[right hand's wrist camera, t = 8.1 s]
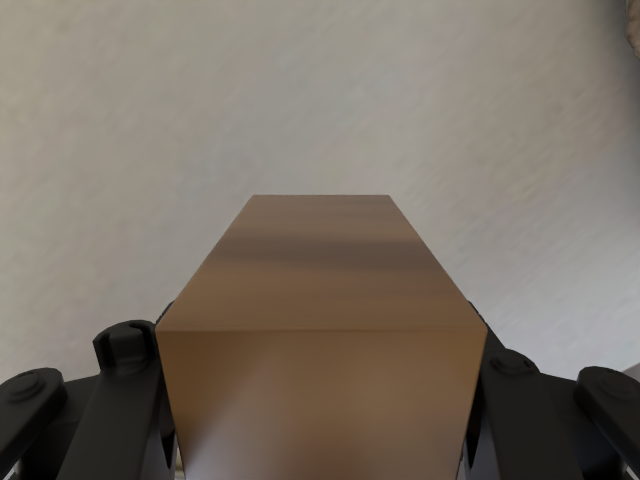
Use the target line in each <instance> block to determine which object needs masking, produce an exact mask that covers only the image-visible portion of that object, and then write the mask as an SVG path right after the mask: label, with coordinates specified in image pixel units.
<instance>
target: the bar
mask: <svg viewBox="0 0 640 480" xmlns="http://www.w3.org/2000/svg"><path fill="white" fill-rule="evenodd" d="M155 333H156V338H157V343H158V348H159V353H160V358H161V363H162V367H163V372H164V377H165V382H166V387H167V392H168V397H169V402H170V407H171V412H172V416H173V421H174V426H175V431H176V436H177V441H178V446H179V451H180V456H181V461H182V466H183V470H184V475H185V480H457V476H458V471H459V466H460V461H461V457H462V452H463V447H464V442H465V438H466V433H467V428H468V423H469V419H470V414H471V409H472V404H473V399H474V395H475V390H476V385H477V380H478V376H479V371H480V366H481V361H482V356H483V352H484V347H485V342H486V337H487V333H488V329H487V326H486V325H485V324H484V322H483V321H482V320H481V318H480V317H479V316H478V314H477V313H476V311H475V310H474V309H473V307H472V306H471V305H470V303H469V302H468V301H467V299H466V298H465V297H464V295H463V294H462V293H461V291H460V290H459V289H458V287H457V286H456V285H455V283H454V282H453V281H452V279H451V278H450V277H449V275H448V274H447V273H446V271H445V270H444V269H443V267H442V266H441V265H440V263H439V262H438V260H437V259H436V258H435V256H434V255H433V254H432V252H431V251H430V250H429V248H428V247H427V246H426V244H425V243H424V242H423V240H422V239H421V238H420V236H419V235H418V234H417V232H416V231H415V230H414V228H413V227H412V226H411V224H410V223H409V222H408V220H407V219H406V218H405V216H404V215H403V213H402V212H401V211H400V209H399V208H398V207H397V205H396V204H395V203H394V201H393V200H392V199H391V197H390V196H389V195H252V197H251V198H250V199H249V201H248V202H247V203H246V205H245V206H244V208H243V209H242V210H241V212H240V213H239V214H238V216H237V217H236V218H235V220H234V221H233V222H232V224H231V225H230V227H229V228H228V229H227V231H226V232H225V233H224V235H223V236H222V237H221V239H220V240H219V241H218V243H217V244H216V246H215V247H214V248H213V250H212V251H211V252H210V254H209V255H208V256H207V258H206V259H205V260H204V262H203V263H202V265H201V266H200V267H199V269H198V270H197V271H196V273H195V274H194V275H193V277H192V278H191V279H190V281H189V282H188V283H187V285H186V286H185V288H184V289H183V290H182V292H181V293H180V294H179V296H178V297H177V298H176V300H175V301H174V302H173V304H172V305H171V307H170V308H169V309H168V311H167V312H166V313H165V315H164V316H163V317H162V319H161V320H160V321H159V323H158V324H157V326H156V328H155Z"/></svg>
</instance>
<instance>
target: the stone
mask: <svg viewBox="0 0 640 480" xmlns="http://www.w3.org/2000/svg"><path fill="white" fill-rule="evenodd" d="M626 6H627V7H626V16H627V21H628V22H627V26H626V30H625V34H624V35H625V37H626V38H627V40H628V41H629V43H630V45H631V46H632V48H633V49H634V55H635V56H637V57H638V58H639V59H640V0H626Z"/></svg>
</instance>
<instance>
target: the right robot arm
mask: <svg viewBox="0 0 640 480" xmlns="http://www.w3.org/2000/svg"><path fill="white" fill-rule="evenodd" d="M174 301H175V300H174ZM174 301H173V302H174ZM467 301H468V300H467ZM173 302H171V303H170V304H169V305H168V306H167V308H166V309H165V310H164V312H163V313H162V315H161V316H160V317H159V318H158V320H157V321H156V324H153V323H152V322H150V321H145V320H130V321H126V322H121V323H118V324H116V325H113V326H111V327H109V328H107V329H105V330H104V331H102V332H101V333H99V334H98V335H97V336H96V338H95V339H94V340H93V341H92V342H93V345H94V349H95V352H96V356H97V359H98V363H99V366H100V370H101V372H100V374H98V375H95V376H91V377H87V378H82V379H77V380H73V381H68V382H64V380H63V377H62V374H61V372H59V371H58V370H57V369H54V368H39V369H33V370H30V371H27V372H23V373H21V374H18V375H17V376H15V377H13V378H11V379H9V380H7V381H5V382H4V383H2V384H1V385H0V480H3V479H4V478H5V476H6V475H7V474H8V473H9V471H10V470H11V469H12V468H14V470H15V472H14V473H13V474H12V476H11V477H10V478H9V479H8V480H174V477H175V467H176V457H177V447H178V441H177V436H176V431H175V426H174V421H173V416H172V412H171V407H170V402H169V397H168V392H167V387H166V382H165V377H164V372H163V367H162V363H161V358H160V353H159V348H158V343H157V338H156V333H155V328H156V326H157V324H158V323H159V321H160V320H161V319H162V317H163V316H164V315H165V313H166V312H167V311H168V309H169V308H170V307H171V305H172V304H173ZM468 302H469V301H468ZM469 303H470V305H471V306H472V307H473V309H474V310H475V311H476V313H477V314H478V316H479V317H480V318H481V320H482V321H483V322H484V324H485V325H486V326H487V329H488V333H487V337H486V342H485V347H484V352H483V356H482V361H481V366H480V371H479V376H478V380H477V385H476V390H475V395H474V399H473V404H472V409H471V414H470V419H469V423H468V428H467V433H466V438H465V442H464V447H463V452H462V457H461V461H462V459H463V456H464V466H465V476H466V480H634V479H633V478H632V477H631V476H630V474H629V473H628V472H627V471H626V469H627V467H628V466H629V467H630V468H631V470H632V471H633V472H634V473H635V475H636V476H637V477H638V478H639V480H640V383H639V382H638V381H637V380H635V379H633V378H631V377H629V376H627V375H625V374H624V373H622V372H619V371H615V370H613V369H609V368H604V367H598V366H592V367H585V368H584V369H582V370H581V371H580V372H579V375H578V378H577V381H574V380H570V379H565V378H560V377H556V376H551V375H547V374H544V373H540V371H539V369H538V368H537V366H536V365H535V364H534V362H532V361H531V360H530V359H529V358H527V357H526V356H524V355H522V354H520V353H518V352H516V351H514V350H510V349H507V348H505V347H504V346H503V344H502V343H501V342H500V340H499V339H498V338H497V336H496V335H495V334H494V332H493V331H492V330H491V328H490V327H489V326H488V324H487V323H486V322H485V320H484V319H483V318H482V316H481V315H480V314H479V312H478V311H477V310H476V308H475V307H474V306H473V304H472V303H471V302H469Z"/></svg>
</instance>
